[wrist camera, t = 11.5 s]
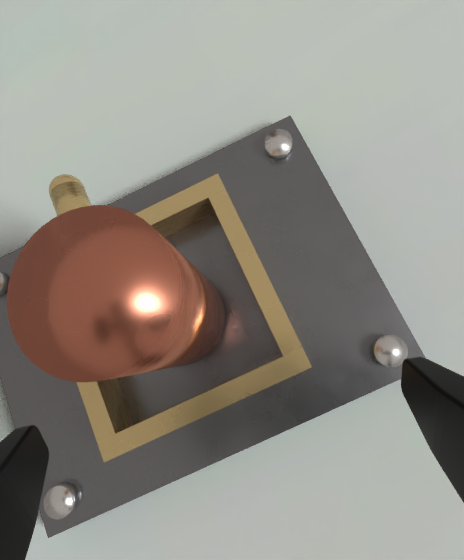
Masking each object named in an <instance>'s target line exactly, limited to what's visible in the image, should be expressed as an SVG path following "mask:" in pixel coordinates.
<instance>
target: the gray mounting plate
mask: <svg viewBox="0 0 464 560" xmlns="http://www.w3.org/2000/svg"><path fill="white" fill-rule="evenodd" d="M107 206H113V207H117V208H121V209H124V210H127V211H129V212H132V213H134V214H135V215H137V216H139V217H141V218H142V219H144V220H145V221H146V222H147V223H149V224H150V225H151V226H152V227H153V228H154V229H155V230H156V231H157V232H158V233H160V234H161V235H162V236H163V237H164V238H165V239H166V240H167V241H168V242H169V243H170V244H171V245H172V246H173V247H174V248H176V249H177V250H178V251H179V252H180V253H181V254H182V255H183V256H184V257H185V258H186V259H187V260H188V261H189V262H191V263H192V264H193V265H194V266H195V267H196V268H197V269H198V270H199V271H200V272H201V273H202V274H203V275H204V276H206V277H207V278H208V279H209V280H210V281H211V282H212V283H213V284H214V286H215V287H216V288H217V290H218V291H219V293H220V295H221V297H222V300H223V304H224V308H225V323H224V328H223V332H222V335H221V337H220V339H219V341H218V342H217V344H216V346H215V347H214V348H213V349H212V351H211V352H209V353H208V354H207V355H206V356H205V357H203V358H202V359H200V360H199V361H197V362H194V363H192V364H189V365H185V366H180V367H174V368H169V369H163V370H158V371H152V372H147V373H141V374H136V375H130V376H125V377H119V378H114V379H108V380H103V381H97V382H86V383H85V382H72V381H67V380H62V379H60V378H57V377H54V376H52V375H50V374H48V373H46V372H44V371H43V370H41V369H40V368H38V367H37V366H36V365H34V364H33V363H32V362H31V361H30V360H29V359H28V358H27V357H26V355H25V354H24V353H23V351H22V350H21V349H20V347H19V345H18V344H17V342H16V340H15V338H14V335H13V333H12V330H11V328H10V323H9V319H8V313H7V291H8V283H9V279H10V276H11V272H12V269H13V267H14V264H15V262H16V260H17V258H18V256H19V254H20V252H21V251H22V249H23V248H24V247H22V248H20V249H18V250H16V251H14V252H12V253H9V254H7V255H5V256H3V257H1V258H0V378H1V381H2V385H3V388H4V391H5V395H6V398H7V402H8V405H9V408H10V412H11V415H12V418H13V422H14V425H15V428H19V427H24V426H29V425H35V426H36V427H38V429H39V431H40V433H41V435H42V437H43V439H44V441H45V443H46V445H47V447H48V450H49V461H48V466H47V471H46V476H45V481H44V486H43V491H42V496H41V501H40V506H39V509H40V513H41V516H42V519H43V523H44V526H45V529H46V533H47V536H48V538H49V537H52V536H54V535H56V534H58V533H60V532H63V531H65V530H67V529H69V528H72V527H74V526H76V525H78V524H80V523H83V522H85V521H87V520H89V519H91V518H94V517H96V516H98V515H100V514H103V513H105V512H107V511H109V510H111V509H114V508H116V507H118V506H120V505H122V504H125V503H127V502H129V501H131V500H134V499H136V498H138V497H140V496H142V495H145V494H147V493H149V492H151V491H153V490H156V489H158V488H160V487H162V486H165V485H167V484H169V483H171V482H173V481H176V480H178V479H180V478H182V477H184V476H187V475H189V474H191V473H193V472H196V471H198V470H200V469H202V468H204V467H207V466H209V465H211V464H213V463H215V462H218V461H220V460H222V459H224V458H227V457H229V456H231V455H233V454H235V453H238V452H240V451H242V450H244V449H246V448H249V447H251V446H253V445H255V444H258V443H260V442H262V441H264V440H266V439H269V438H271V437H273V436H275V435H277V434H280V433H282V432H284V431H286V430H289V429H291V428H293V427H295V426H297V425H300V424H302V423H304V422H306V421H308V420H311V419H313V418H315V417H317V416H320V415H322V414H324V413H326V412H328V411H331V410H333V409H335V408H337V407H339V406H342V405H344V404H346V403H348V402H351V401H353V400H355V399H357V398H359V397H362V396H364V395H366V394H368V393H370V392H373V391H375V390H377V389H379V388H382V387H384V386H386V385H388V384H390V383H393V382H395V381H397V380H399V379H401V377H402V363H403V361H404V360H405V359H406V358H412V357H417V356H421V357H424V358H425V356H424V354H423V353H422V351H421V349H420V347H419V346H418V344H417V342H416V340H415V338H414V337H413V335H412V333H411V331H410V329H409V328H408V326H407V324H406V322H405V320H404V319H403V317H402V315H401V313H400V311H399V310H398V308H397V306H396V304H395V302H394V301H393V299H392V297H391V295H390V293H389V292H388V290H387V288H386V286H385V284H384V283H383V281H382V279H381V277H380V276H379V274H378V272H377V270H376V268H375V267H374V265H373V263H372V261H371V259H370V258H369V256H368V254H367V252H366V250H365V249H364V247H363V245H362V243H361V241H360V240H359V238H358V236H357V234H356V232H355V231H354V229H353V227H352V225H351V223H350V222H349V220H348V218H347V216H346V214H345V213H344V211H343V209H342V207H341V206H340V204H339V202H338V200H337V198H336V197H335V195H334V193H333V191H332V189H331V188H330V186H329V184H328V182H327V180H326V179H325V177H324V175H323V173H322V171H321V170H320V168H319V166H318V164H317V162H316V161H315V159H314V157H313V155H312V153H311V152H310V150H309V148H308V146H307V144H306V143H305V141H304V139H303V137H302V136H301V134H300V132H299V130H298V128H297V127H296V125H295V123H294V121H293V119H292V118H291V116H288V117H286V118H284V119H282V120H280V121H278V122H276V123H274V124H272V125H270V126H268V127H266V128H264V129H262V130H260V131H258V132H256V133H254V134H252V135H250V136H248V137H246V138H244V139H242V140H240V141H237V142H235V143H233V144H231V145H229V146H227V147H225V148H223V149H221V150H219V151H217V152H215V153H213V154H211V155H209V156H207V157H205V158H203V159H201V160H199V161H197V162H195V163H193V164H191V165H189V166H187V167H185V168H183V169H180V170H178V171H176V172H174V173H172V174H170V175H168V176H166V177H164V178H162V179H160V180H158V181H156V182H154V183H152V184H150V185H148V186H146V187H144V188H142V189H140V190H138V191H136V192H134V193H132V194H130V195H128V196H126V197H123V198H121V199H119V200H117V201H115V202H113V203H111V204H109V205H107Z"/></svg>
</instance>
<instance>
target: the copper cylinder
mask: <svg viewBox="0 0 464 560" xmlns="http://www.w3.org/2000/svg"><path fill="white" fill-rule="evenodd" d="M49 194H50V197H51V200H52V203H53V205H54V208H55V211H56V214H57V217H55V218H54V219H52V220H50V221H49V222H48V223H46V224H45V225H44V226H42V227H41V228H40V229H39V230H38V231H37V232H36V233H35V234H34V235H33V236H32V237H31V238H30V240H29V241H28V242H27V243H26V245H25V246H24V248H23V249H22V251H21V252H20V254H19V256H18V258H17V260H16V262H15V264H14V267H13V269H12V272H11V276H10V279H9V283H8V291H7V313H8V319H9V323H10V328H11V330H12V333H13V335H14V338H15V340H16V342H17V344H18V345H19V347H20V349H21V350H22V351H23V353H24V354H25V355H26V357H27V358H28V359H29V360H30V361H31V362H32V363H33V364H34V365H36V366H37V367H38V368H40V369H41V370H43V371H44V372H46V373H48V374H50V375H52V376H54V377H57V378H60V379H62V380H67V381H72V382H85V383H86V382H97V381H103V380H108V379H114V378H119V377H125V376H130V375H136V374H141V373H147V372H152V371H158V370H163V369H169V368H174V367H180V366H185V365H189V364H192V363H194V362H197V361H199V360H200V359H202V358H203V357H205V356H206V355H207V354H208V353H209V352H211V351H212V349H213V348H214V347H215V346H216V344H217V342H218V341H219V339H220V337H221V335H222V332H223V328H224V323H225V308H224V304H223V300H222V297H221V295H220V293H219V291H218V290H217V288H216V287H215V286H214V284H213V283H212V282H211V281H210V280H209V279H208V278H207V277H206V276H204V275H203V274H202V273H201V272H200V271H199V270H198V269H197V268H196V267H195V266H194V265H193V264H192V263H191V262H189V261H188V260H187V259H186V258H185V257H184V256H183V255H182V254H181V253H180V252H179V251H178V250H177V249H176V248H174V247H173V246H172V245H171V244H170V243H169V242H168V241H167V240H166V239H165V238H164V237H163V236H162V235H161V234H160V233H158V232H157V231H156V230H155V229H154V228H153V227H152V226H151V225H150V224H149V223H147V222H146V221H145V220H144V219H142V218H141V217H139V216H137V215H135V214H134V213H132V212H129V211H127V210H124V209H121V208H117V207H113V206H104V205H93V206H91V204H90V201H89V199H88V196H87V194H86V191H85V188H84V186H83V184H82V183H81V181H80V180H79V179H77V178H76V177H74V176H72V175H66V174H64V175H59V176H57V177H55V178H54V179H53V180H52V182H51V183H50V186H49Z"/></svg>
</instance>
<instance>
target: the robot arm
mask: <svg viewBox="0 0 464 560" xmlns="http://www.w3.org/2000/svg"><path fill="white" fill-rule="evenodd" d="M401 388H402V392H403V395H404V397H405V399H406V401H407V403H408V405H409V407H410V409H411V411H412V413H413V415H414V417H415V419H416V421H417V423H418V425H419V427H420V429H421V431H422V433H423V435H424V437H425V439H426V441H427V443H428V445H429V447H430V449H431V451H432V453H433V454H434V456H435V458H436V459H437V461H438V463H439V464H440V466H441V467H442V469H443V471H444V472H445V474H446V475H447V477H448V478H449V480H450V482H451V483H452V485H453V486H454V488H455V490H456V491H457V493H458V494H459V496H460V497H461V499H462V501H463V502H464V376H462V375H459V374H457V373H455V372H453V371H451V370H449V369H447V368H445V367H443V366H441V365H439V364H436V363H434V362H432V361H430V360H428V359H426V358H424V357H421V356H417V357H412V358H406V359H405V360H404V361H403V363H402V377H401ZM48 461H49V450H48V447H47V445H46V443H45V441H44V439H43V437H42V435H41V433H40V431H39V429H38V427H36V426H35V425H29V426H24V427H19V428H16V429H15V430H14V431H12V432H11V433H10V434H9V435H8V436H7V437H6V438H4V439H3V440H2V441H1V442H0V560H25V558H26V554H27V551H28V548H29V545H30V541H31V538H32V535H33V531H34V528H35V524H36V520H37V515H38V511H39V506H40V501H41V496H42V491H43V486H44V481H45V476H46V471H47V466H48Z"/></svg>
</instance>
